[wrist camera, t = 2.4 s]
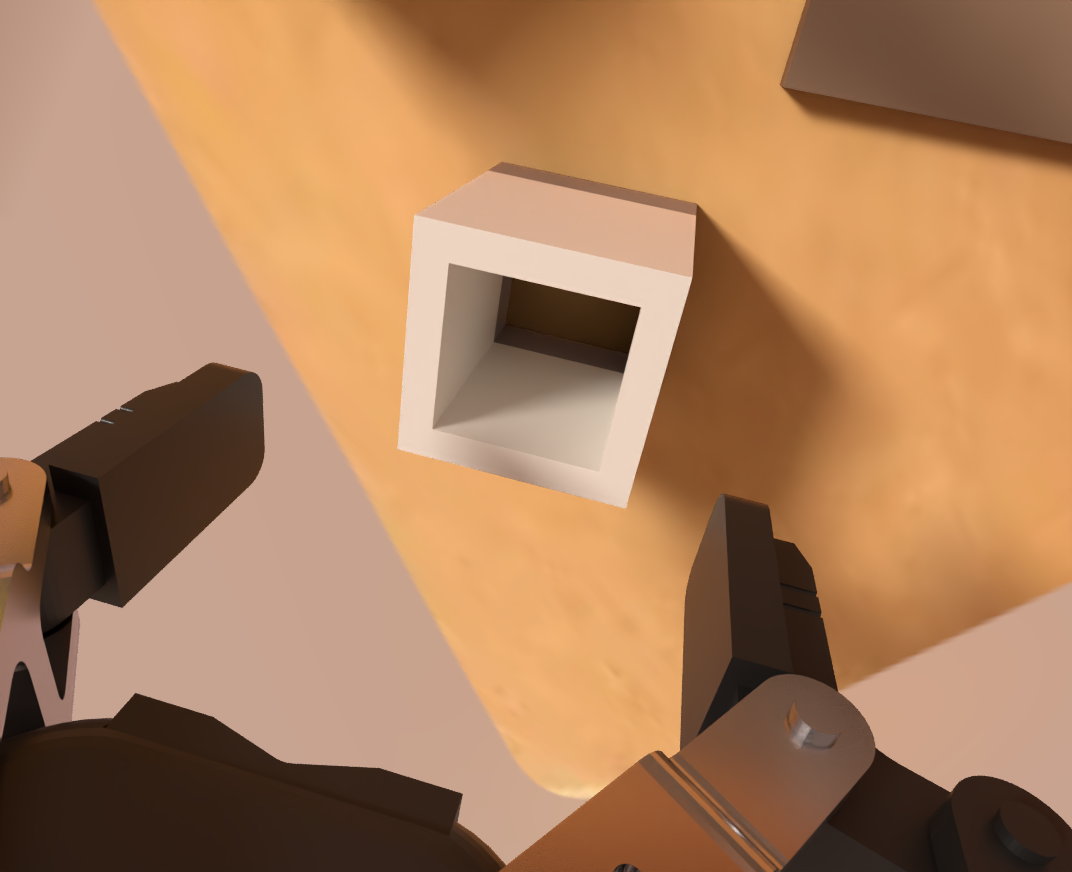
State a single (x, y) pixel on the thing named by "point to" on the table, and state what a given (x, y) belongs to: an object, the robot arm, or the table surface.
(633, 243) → the sleeve
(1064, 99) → the pin plate
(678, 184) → the table surface
